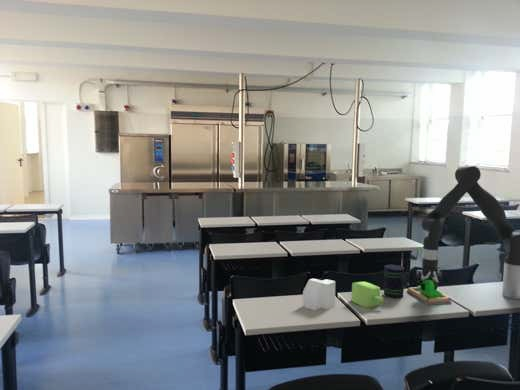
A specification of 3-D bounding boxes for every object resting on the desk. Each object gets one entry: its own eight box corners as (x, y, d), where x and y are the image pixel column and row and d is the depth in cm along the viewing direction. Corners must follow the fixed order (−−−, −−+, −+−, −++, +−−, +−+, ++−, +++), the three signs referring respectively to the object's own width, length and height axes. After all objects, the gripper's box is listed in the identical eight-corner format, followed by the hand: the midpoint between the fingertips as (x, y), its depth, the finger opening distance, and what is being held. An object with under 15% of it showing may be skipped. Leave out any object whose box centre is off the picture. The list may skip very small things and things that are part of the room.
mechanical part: (441, 296, 207) (441, 281, 206) (430, 297, 206) (430, 281, 205) (428, 289, 219) (428, 274, 218) (417, 289, 218) (417, 274, 217)
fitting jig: (427, 290, 224) (427, 285, 224) (451, 303, 204) (451, 298, 204) (407, 291, 222) (407, 287, 221) (429, 305, 202) (429, 300, 202)
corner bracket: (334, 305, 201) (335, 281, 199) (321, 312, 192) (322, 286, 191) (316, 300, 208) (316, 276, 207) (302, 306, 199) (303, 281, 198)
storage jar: (382, 297, 213) (383, 268, 211) (383, 291, 222) (384, 263, 221) (403, 299, 210) (404, 270, 208) (403, 293, 219) (404, 265, 217)
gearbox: (388, 308, 198) (390, 289, 197) (373, 311, 193) (375, 291, 192) (361, 296, 214) (363, 278, 213) (347, 299, 209) (348, 280, 208)
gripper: (438, 255, 216) (437, 286, 218) (413, 256, 213) (411, 288, 215) (447, 258, 209) (446, 291, 210) (421, 259, 206) (420, 293, 208)
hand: (428, 289), depth 213 cm, fingers closed on mechanical part, 6 cm apart
